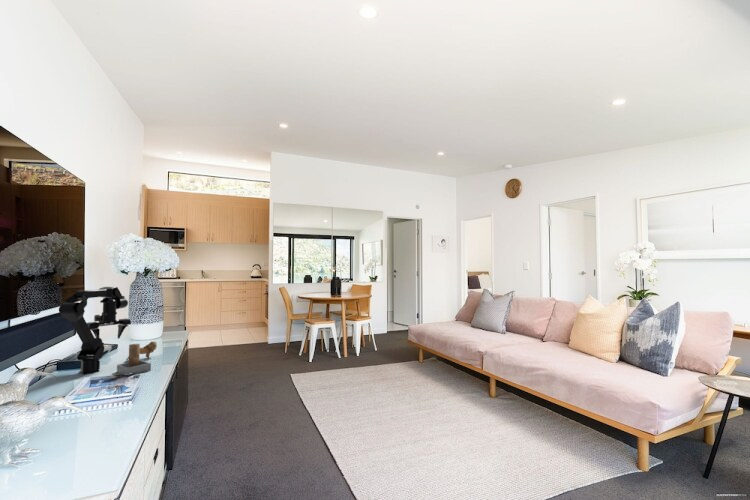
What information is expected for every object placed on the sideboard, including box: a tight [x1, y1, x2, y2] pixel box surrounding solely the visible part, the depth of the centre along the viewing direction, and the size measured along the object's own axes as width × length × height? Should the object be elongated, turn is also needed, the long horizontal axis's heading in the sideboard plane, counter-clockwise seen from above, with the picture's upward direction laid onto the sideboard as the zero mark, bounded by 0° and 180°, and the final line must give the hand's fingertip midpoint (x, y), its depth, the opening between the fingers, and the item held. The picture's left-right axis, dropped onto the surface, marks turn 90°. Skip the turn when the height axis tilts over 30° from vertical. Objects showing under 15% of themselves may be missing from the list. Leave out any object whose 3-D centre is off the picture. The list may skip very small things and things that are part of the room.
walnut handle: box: [128, 343, 141, 368], centre depth 178 cm, size 5×5×12 cm
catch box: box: [116, 359, 152, 375], centre depth 178 cm, size 11×11×4 cm
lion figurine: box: [125, 341, 158, 361], centre depth 201 cm, size 15×5×9 cm, turn 133°
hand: (108, 340), depth 189 cm, fingers open, 9 cm apart
